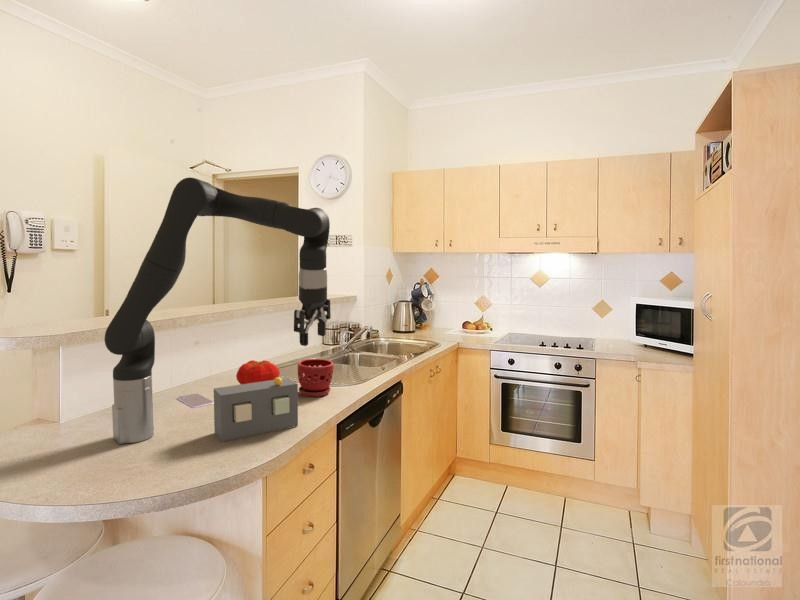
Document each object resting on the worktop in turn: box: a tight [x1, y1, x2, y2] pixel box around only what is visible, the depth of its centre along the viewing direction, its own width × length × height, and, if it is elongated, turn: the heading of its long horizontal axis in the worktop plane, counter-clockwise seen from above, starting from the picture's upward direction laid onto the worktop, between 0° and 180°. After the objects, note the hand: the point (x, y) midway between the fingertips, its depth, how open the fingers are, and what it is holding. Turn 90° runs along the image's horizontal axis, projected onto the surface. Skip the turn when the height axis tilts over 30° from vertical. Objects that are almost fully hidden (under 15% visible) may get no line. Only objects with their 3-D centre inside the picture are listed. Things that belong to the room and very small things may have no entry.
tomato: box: [235, 359, 281, 385], centre depth 179 cm, size 14×16×10 cm
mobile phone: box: [176, 393, 214, 409], centre depth 161 cm, size 8×1×15 cm
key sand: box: [232, 402, 252, 422], centre depth 128 cm, size 4×4×4 cm
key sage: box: [272, 396, 289, 415], centre depth 134 cm, size 4×4×4 cm
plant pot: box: [297, 358, 334, 397], centre depth 171 cm, size 13×13×12 cm
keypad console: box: [213, 376, 299, 443], centre depth 134 cm, size 8×22×15 cm, turn 125°
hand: (312, 340), depth 128 cm, fingers open, 8 cm apart
